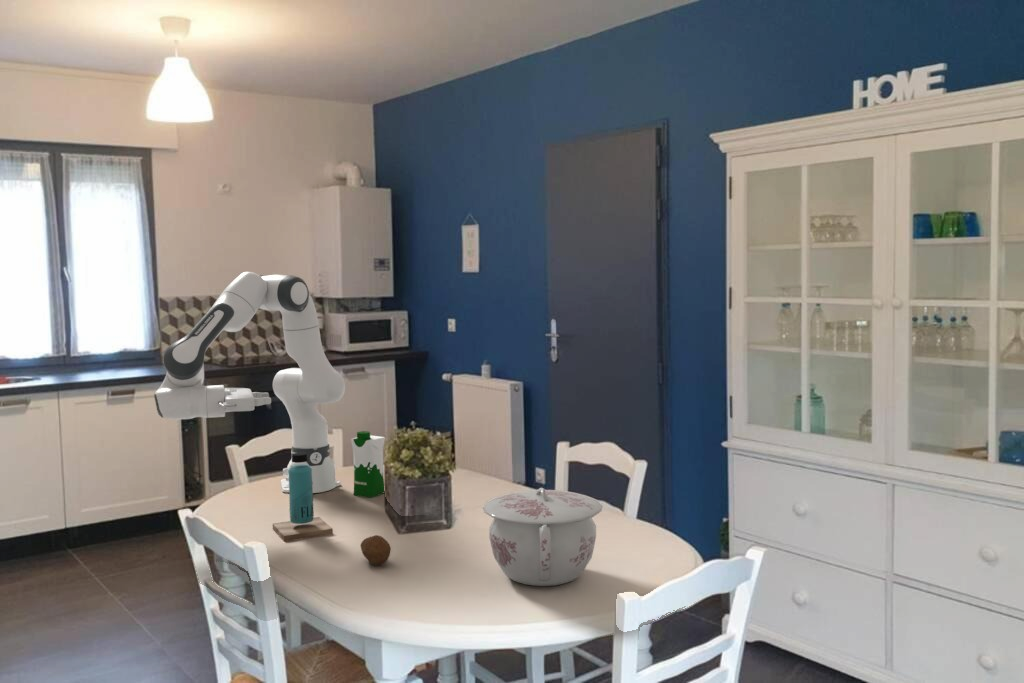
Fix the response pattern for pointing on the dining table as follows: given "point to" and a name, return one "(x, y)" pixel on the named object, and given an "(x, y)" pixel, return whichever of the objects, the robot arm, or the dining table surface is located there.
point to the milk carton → (368, 464)
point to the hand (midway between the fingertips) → (269, 398)
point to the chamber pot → (542, 534)
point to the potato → (376, 549)
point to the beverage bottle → (300, 490)
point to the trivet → (302, 529)
